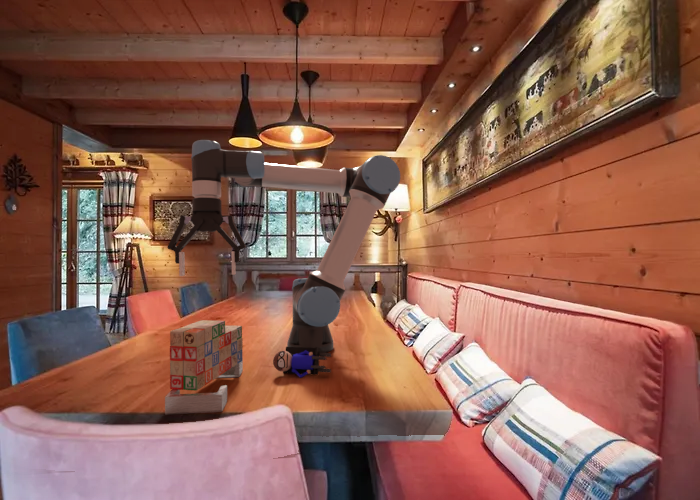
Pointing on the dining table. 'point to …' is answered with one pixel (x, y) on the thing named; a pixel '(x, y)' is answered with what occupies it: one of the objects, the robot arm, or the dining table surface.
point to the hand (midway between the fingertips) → (208, 275)
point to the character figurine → (300, 361)
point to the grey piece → (233, 371)
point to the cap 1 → (195, 402)
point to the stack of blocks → (203, 353)
